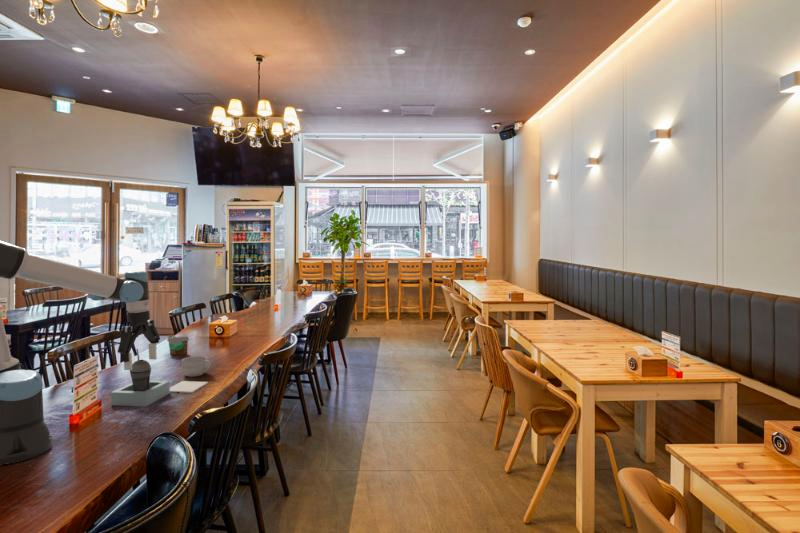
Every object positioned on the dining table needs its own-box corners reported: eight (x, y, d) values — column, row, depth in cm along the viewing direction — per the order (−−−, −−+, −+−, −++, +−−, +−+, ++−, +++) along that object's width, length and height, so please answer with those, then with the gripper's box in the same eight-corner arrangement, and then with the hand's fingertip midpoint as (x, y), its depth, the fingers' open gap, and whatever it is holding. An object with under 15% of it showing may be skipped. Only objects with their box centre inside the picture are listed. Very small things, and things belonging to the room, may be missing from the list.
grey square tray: (145, 406, 159) (145, 393, 158) (111, 405, 160) (110, 392, 160) (169, 393, 173) (169, 381, 172) (137, 392, 174) (137, 380, 174)
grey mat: (192, 393, 173) (191, 391, 173) (164, 392, 174) (164, 390, 174) (208, 383, 185) (208, 381, 185) (182, 382, 186) (182, 380, 186)
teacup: (177, 376, 194) (176, 359, 194) (198, 370, 204) (197, 353, 203) (197, 381, 188) (196, 363, 187) (217, 374, 197) (217, 357, 197)
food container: (162, 355, 229) (161, 337, 229) (171, 352, 235) (170, 334, 235) (180, 357, 226) (179, 338, 225) (189, 354, 232) (188, 336, 231)
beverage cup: (142, 403, 162) (140, 351, 161) (126, 401, 163) (124, 350, 162) (156, 396, 169) (154, 347, 168) (141, 395, 171) (139, 346, 169)
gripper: (123, 317, 151) (126, 374, 153) (168, 305, 176) (170, 355, 178) (103, 316, 152) (107, 374, 154) (151, 305, 177) (153, 355, 178)
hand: (141, 364), depth 166 cm, fingers open, 13 cm apart
